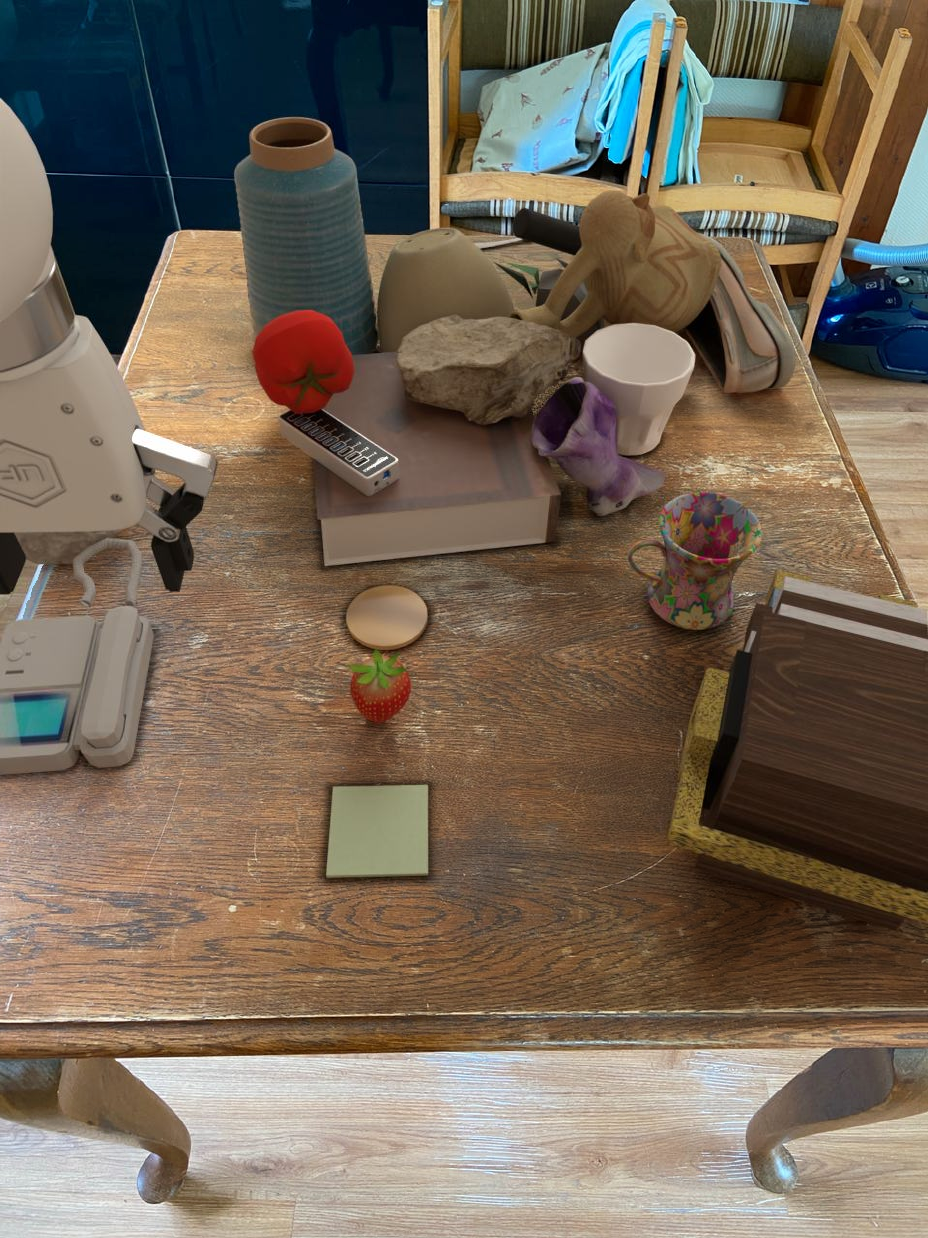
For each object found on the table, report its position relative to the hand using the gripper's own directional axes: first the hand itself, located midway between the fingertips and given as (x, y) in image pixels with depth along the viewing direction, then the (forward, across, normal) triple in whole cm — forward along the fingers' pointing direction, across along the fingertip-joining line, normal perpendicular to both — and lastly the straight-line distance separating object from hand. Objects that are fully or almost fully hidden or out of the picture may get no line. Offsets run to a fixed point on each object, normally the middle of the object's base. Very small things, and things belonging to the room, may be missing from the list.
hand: (96, 576), depth 54 cm
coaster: (+28, +15, +21) cm, 38 cm away
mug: (+28, +44, +22) cm, 57 cm away
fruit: (+28, +15, +9) cm, 34 cm away
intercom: (+26, -14, +29) cm, 42 cm away
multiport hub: (+22, +10, +38) cm, 45 cm away
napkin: (+28, +15, -2) cm, 32 cm away
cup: (+28, +43, +50) cm, 71 cm away
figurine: (+18, +32, +39) cm, 54 cm away
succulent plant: (+28, +36, +77) cm, 89 cm away
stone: (+17, -14, +38) cm, 44 cm away
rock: (+22, +17, +52) cm, 59 cm away
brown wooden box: (+22, +57, +17) cm, 63 cm away
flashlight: (+19, +41, +84) cm, 96 cm away
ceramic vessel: (+20, +51, +72) cm, 90 cm away
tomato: (+13, +5, +46) cm, 48 cm away
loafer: (+23, +60, +71) cm, 96 cm away
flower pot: (+14, +19, +70) cm, 74 cm away
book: (+28, +19, +44) cm, 55 cm away
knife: (+28, +31, +96) cm, 105 cm away
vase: (+28, +4, +69) cm, 75 cm away
